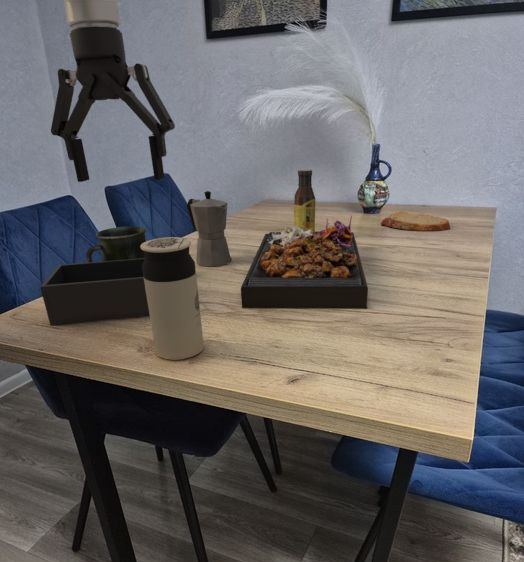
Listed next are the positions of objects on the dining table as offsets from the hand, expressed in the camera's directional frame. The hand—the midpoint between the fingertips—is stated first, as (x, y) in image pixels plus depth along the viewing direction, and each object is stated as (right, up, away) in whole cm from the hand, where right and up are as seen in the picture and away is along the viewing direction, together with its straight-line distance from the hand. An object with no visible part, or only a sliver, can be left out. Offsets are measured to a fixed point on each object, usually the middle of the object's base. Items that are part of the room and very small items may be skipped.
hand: (121, 180), depth 79 cm
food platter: (+34, -10, +34) cm, 49 cm away
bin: (-7, -20, +19) cm, 28 cm away
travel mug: (+10, -29, -1) cm, 31 cm away
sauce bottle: (+37, +4, +63) cm, 73 cm away
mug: (-9, -13, +32) cm, 36 cm away
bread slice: (+73, +11, +73) cm, 104 cm away
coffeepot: (+10, -5, +46) cm, 47 cm away
